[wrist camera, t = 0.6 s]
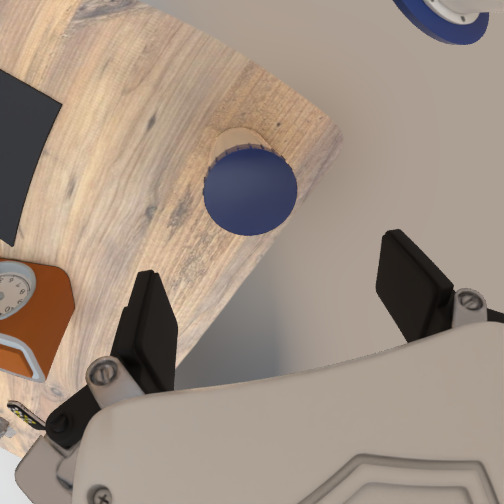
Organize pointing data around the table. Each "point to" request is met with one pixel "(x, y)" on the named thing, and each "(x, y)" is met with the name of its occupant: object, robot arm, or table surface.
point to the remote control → (26, 415)
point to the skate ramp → (6, 429)
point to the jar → (234, 141)
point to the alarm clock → (32, 317)
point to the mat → (20, 145)
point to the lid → (249, 189)
